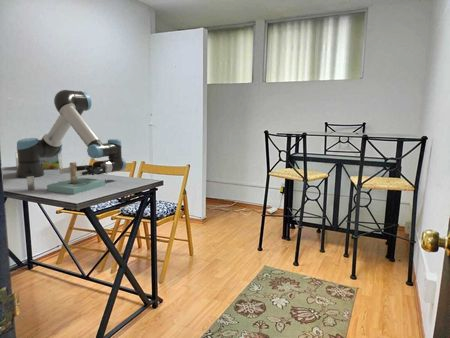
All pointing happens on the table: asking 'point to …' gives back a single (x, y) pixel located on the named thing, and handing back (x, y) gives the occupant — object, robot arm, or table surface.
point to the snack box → (52, 162)
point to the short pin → (30, 183)
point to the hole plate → (76, 185)
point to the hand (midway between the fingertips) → (67, 172)
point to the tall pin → (73, 173)
